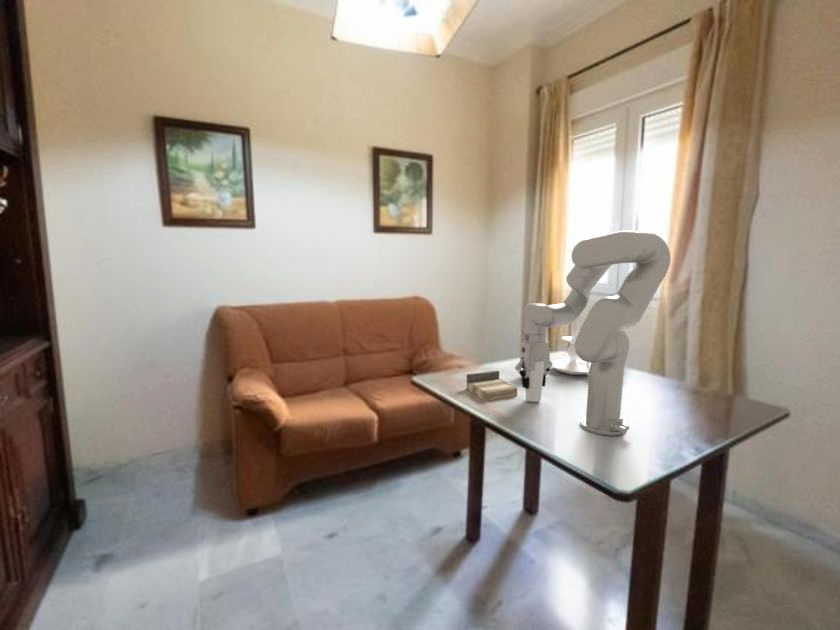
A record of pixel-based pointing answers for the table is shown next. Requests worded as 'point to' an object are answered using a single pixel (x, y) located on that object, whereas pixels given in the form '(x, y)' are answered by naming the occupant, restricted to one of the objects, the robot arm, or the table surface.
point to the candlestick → (572, 354)
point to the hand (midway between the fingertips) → (533, 386)
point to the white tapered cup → (535, 382)
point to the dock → (489, 386)
